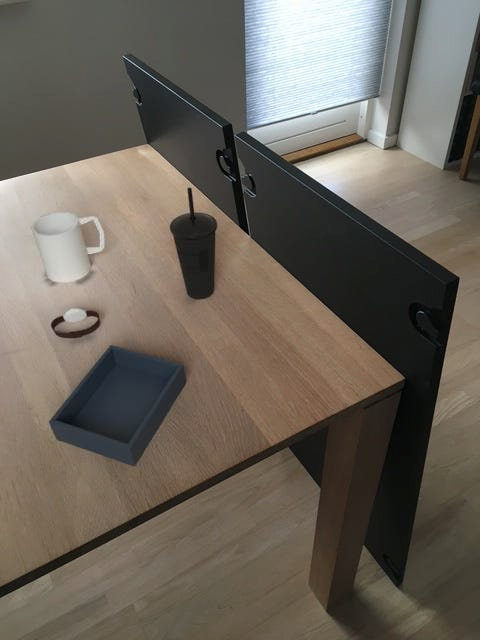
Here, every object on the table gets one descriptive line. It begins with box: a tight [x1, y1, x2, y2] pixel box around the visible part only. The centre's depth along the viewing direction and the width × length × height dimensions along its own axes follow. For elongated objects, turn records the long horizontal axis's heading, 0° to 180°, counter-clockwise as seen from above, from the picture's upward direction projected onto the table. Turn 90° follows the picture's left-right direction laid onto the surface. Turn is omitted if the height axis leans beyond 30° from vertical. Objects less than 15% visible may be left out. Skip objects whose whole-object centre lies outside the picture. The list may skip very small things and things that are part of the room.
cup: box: [30, 211, 105, 284], centre depth 99 cm, size 8×12×10 cm
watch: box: [50, 307, 101, 339], centre depth 88 cm, size 8×5×4 cm, turn 106°
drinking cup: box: [169, 187, 218, 300], centre depth 89 cm, size 8×8×20 cm
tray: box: [48, 344, 187, 467], centre depth 75 cm, size 15×12×4 cm
